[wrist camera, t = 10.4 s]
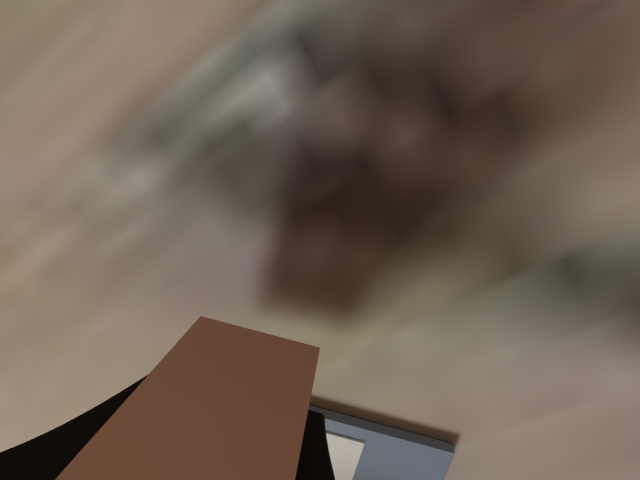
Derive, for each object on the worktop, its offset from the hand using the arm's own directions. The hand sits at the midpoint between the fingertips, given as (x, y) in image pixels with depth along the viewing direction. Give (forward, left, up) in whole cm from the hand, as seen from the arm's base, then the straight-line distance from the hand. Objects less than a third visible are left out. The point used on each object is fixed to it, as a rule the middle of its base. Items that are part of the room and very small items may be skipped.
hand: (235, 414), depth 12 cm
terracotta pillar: (0, 0, -2) cm, 2 cm away
